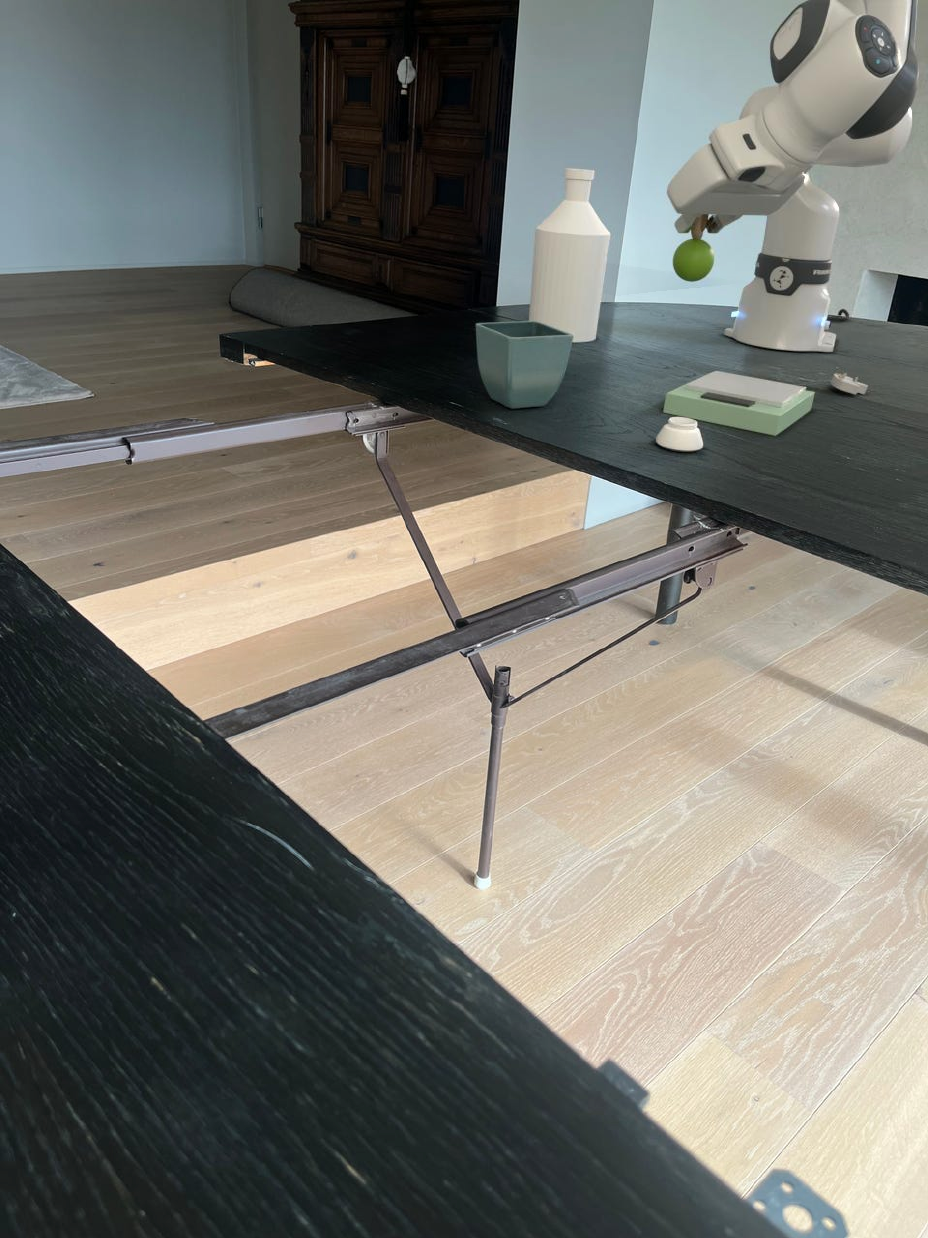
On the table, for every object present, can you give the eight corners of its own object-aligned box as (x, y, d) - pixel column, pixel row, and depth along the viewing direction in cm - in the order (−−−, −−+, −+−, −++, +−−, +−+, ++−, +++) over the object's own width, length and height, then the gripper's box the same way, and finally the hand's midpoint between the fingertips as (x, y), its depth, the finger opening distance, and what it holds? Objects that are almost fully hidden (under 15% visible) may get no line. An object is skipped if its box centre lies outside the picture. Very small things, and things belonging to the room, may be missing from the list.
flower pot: (503, 415, 111) (510, 336, 107) (468, 396, 118) (473, 322, 114) (567, 410, 115) (575, 334, 111) (529, 392, 122) (536, 320, 118)
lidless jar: (646, 443, 105) (679, 456, 101) (650, 417, 104) (684, 429, 100) (677, 438, 108) (711, 450, 104) (681, 412, 106) (716, 424, 103)
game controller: (873, 397, 133) (878, 378, 132) (796, 396, 131) (801, 376, 130) (852, 387, 138) (856, 368, 136) (778, 385, 136) (782, 367, 134)
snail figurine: (664, 282, 127) (679, 183, 122) (673, 277, 132) (687, 182, 127) (705, 286, 125) (722, 186, 120) (713, 281, 131) (729, 185, 125)
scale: (707, 390, 130) (711, 368, 129) (810, 410, 124) (816, 387, 122) (663, 412, 118) (667, 388, 116) (775, 435, 111) (781, 410, 110)
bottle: (528, 325, 165) (544, 165, 153) (597, 332, 164) (618, 171, 152) (523, 338, 154) (538, 167, 143) (596, 345, 153) (618, 173, 142)
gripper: (810, 134, 122) (733, 210, 133) (707, 124, 110) (632, 207, 121) (832, 176, 121) (753, 248, 132) (731, 169, 109) (653, 249, 120)
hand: (694, 229), depth 127 cm, fingers closed on snail figurine, 5 cm apart
